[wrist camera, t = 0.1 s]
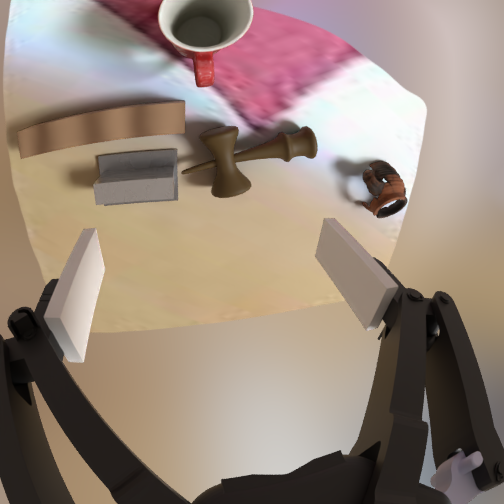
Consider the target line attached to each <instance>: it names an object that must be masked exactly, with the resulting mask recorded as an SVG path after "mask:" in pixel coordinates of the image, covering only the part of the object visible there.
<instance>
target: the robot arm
mask: <svg viewBox="0 0 504 504" xmlns="http://www.w3.org/2000/svg"><path fill="white" fill-rule="evenodd" d="M315 257H316V258H317V260H318V261H319V263H320V264H321V265H322V267H323V268H324V270H325V271H326V272H327V274H328V275H329V277H330V278H331V280H332V281H333V282H334V284H335V285H336V287H337V288H338V290H339V291H340V293H341V294H342V296H343V297H344V298H345V300H346V301H347V303H348V304H349V306H350V307H351V309H352V310H353V312H354V313H355V315H356V316H357V318H358V319H359V321H360V322H361V324H362V325H363V327H364V328H365V330H366V331H368V330H372V329H376V328H378V326H379V325H380V323H381V321H382V319H383V321H384V322H385V324H386V325H385V327H384V328H383V330H382V332H381V334H380V336H379V337H378V340H380V338H381V337H382V340H381V346H380V351H379V357H378V362H377V367H376V372H375V376H374V381H373V386H372V390H371V394H370V398H369V402H368V406H367V410H366V413H365V417H364V420H363V424H362V427H361V431H360V434H359V437H358V440H357V442H356V443H355V445H354V447H353V448H352V450H351V451H350V453H349V455H342V453H341V450H339V451H337V452H334V453H331V454H328V455H325V456H322V457H319V458H316V459H313V460H312V461H310V462H308V463H307V464H305V465H303V466H301V467H300V468H298V469H296V470H294V471H293V472H291V473H289V474H284V475H255V474H254V475H253V474H252V475H247V476H241V477H235V478H229V479H222V480H221V484H218V485H216V486H214V487H211V488H209V489H207V490H206V491H205V492H203V493H202V494H200V495H199V496H198V497H197V498H196V499H195V500H194V501H193V502H192V504H467V503H468V502H470V501H471V500H472V499H474V498H475V497H476V496H477V495H479V494H481V493H483V492H485V491H487V490H489V489H491V488H494V487H495V486H498V485H500V484H501V483H502V482H504V448H503V446H502V444H501V441H500V439H499V437H498V434H497V432H496V430H495V428H494V424H493V419H492V415H491V410H490V405H489V402H488V397H487V394H486V390H485V386H484V382H483V379H482V375H481V372H480V369H479V366H478V363H477V360H476V357H475V354H474V351H473V348H472V345H471V342H470V340H469V337H468V334H467V332H466V329H465V327H464V324H463V322H462V319H461V317H460V314H459V312H458V310H457V307H456V305H455V303H454V301H453V299H452V298H451V297H450V296H449V295H448V294H446V293H445V292H442V291H437V292H436V293H435V294H434V296H433V298H432V299H431V298H430V299H429V298H424V297H423V295H422V294H421V293H419V292H418V291H417V290H415V289H411V288H405V287H404V286H403V285H402V284H401V283H400V282H399V280H398V279H397V278H396V277H395V276H394V275H393V274H391V272H390V270H388V269H387V267H386V266H385V265H384V264H383V263H382V262H381V261H379V260H378V259H376V258H375V257H372V256H371V255H370V254H369V253H368V252H367V251H366V250H365V249H364V248H363V247H362V246H361V245H360V244H359V243H358V242H357V240H356V239H355V238H354V237H353V236H352V235H351V234H350V233H349V232H348V231H347V230H346V229H345V228H344V227H343V226H342V225H341V224H340V223H339V222H338V221H337V220H336V219H335V218H324V220H323V225H322V229H321V233H320V238H319V242H318V246H317V250H316V254H315ZM104 272H105V267H104V263H103V258H102V254H101V250H100V245H99V240H98V236H97V231H96V228H91V229H83V231H82V233H81V235H80V237H79V239H78V241H77V243H76V245H75V247H74V249H73V251H72V253H71V255H70V257H69V259H68V261H67V263H66V265H65V267H64V269H63V272H62V274H61V276H60V278H59V279H52V280H51V281H50V282H49V283H48V284H47V285H46V286H45V288H44V291H43V293H42V295H41V297H40V300H39V302H38V304H37V307H36V309H35V312H33V310H31V308H29V307H21V308H19V309H17V310H15V311H14V312H13V313H12V314H11V315H10V317H9V319H8V327H9V329H10V331H11V332H12V334H13V335H14V337H13V338H10V339H6V340H4V339H3V337H2V336H1V335H0V478H1V481H2V484H3V487H4V490H5V493H6V495H7V498H8V500H9V503H10V504H75V503H74V501H73V499H72V497H71V495H70V493H69V491H68V489H67V487H66V485H65V483H64V480H63V478H62V476H61V474H60V472H59V469H58V467H57V465H56V462H55V460H54V457H53V455H52V452H51V449H50V446H49V444H48V441H47V438H46V435H45V432H44V429H43V426H42V422H41V419H40V416H39V412H38V409H37V405H36V401H35V397H34V393H33V388H32V384H31V382H34V381H35V383H36V385H37V386H38V388H39V390H40V392H41V394H42V396H43V398H44V400H45V401H46V403H47V405H48V406H49V408H50V410H51V412H52V413H53V415H54V417H55V418H56V420H57V422H58V423H59V425H60V426H61V428H62V429H63V431H64V433H65V434H66V436H67V437H68V438H69V440H70V441H71V442H72V444H73V446H74V447H75V448H76V450H77V451H78V452H79V454H80V455H81V456H82V458H83V459H84V460H85V462H86V463H87V464H88V465H89V467H90V468H91V469H92V470H93V472H94V473H95V474H96V475H97V476H98V478H99V479H100V480H101V481H102V482H103V483H104V485H105V486H106V487H107V488H108V489H109V491H110V492H111V495H112V497H113V498H114V500H115V501H116V502H117V503H118V504H191V503H190V502H189V501H187V500H186V499H185V498H184V497H182V496H181V495H180V494H178V493H177V492H176V491H175V490H174V489H172V488H171V487H170V486H169V485H168V484H166V483H165V482H164V481H163V480H162V479H161V478H159V477H158V476H157V475H156V474H155V473H154V472H153V471H152V470H150V468H148V467H147V466H146V465H145V464H144V463H143V462H142V461H141V460H140V459H139V458H138V457H137V456H136V455H135V454H134V453H133V452H132V451H131V450H130V449H129V448H128V447H127V445H126V444H125V443H124V442H123V441H122V440H121V439H120V438H119V437H118V436H117V434H116V433H115V432H114V431H113V430H112V429H111V427H110V426H109V425H108V424H107V423H106V422H105V421H104V419H103V418H102V417H101V415H100V414H99V413H98V412H97V410H96V409H95V408H94V407H93V405H92V404H91V403H90V401H89V400H88V399H87V397H86V396H85V395H84V393H83V392H82V391H81V389H80V388H79V386H78V385H77V383H76V382H75V381H74V379H73V377H72V376H71V374H70V373H69V371H68V370H67V368H66V367H65V365H64V364H63V362H62V361H63V356H64V355H65V356H66V358H67V360H68V361H69V362H84V357H85V352H86V347H87V342H88V337H89V332H90V327H91V322H92V318H93V314H94V309H95V305H96V301H97V297H98V293H99V290H100V286H101V282H102V279H103V275H104ZM438 330H440V333H439V336H438V334H437V331H438ZM425 388H426V395H427V401H428V409H429V417H430V426H431V437H432V449H433V457H434V462H435V466H436V470H437V471H436V474H434V475H433V476H432V478H431V485H432V486H433V487H435V489H433V488H431V487H428V486H426V485H423V484H421V483H419V480H420V475H421V471H422V466H423V461H424V456H425V449H426V443H427V436H428V424H427V422H423V421H422V411H423V403H424V391H425Z"/></svg>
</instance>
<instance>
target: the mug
mask: <svg viewBox="0 0 504 504" xmlns="http://www.w3.org/2000/svg"><path fill="white" fill-rule="evenodd" d="M252 19H253V5H252V2H251V0H163V1H162V2H161V5H160V7H159V11H158V24H159V27H160V30H161V32H162V34H163V35H164V36H165V38H166V39H167V40H168V41H170V42H171V43H172V44H173V46H174V47H175V49H176V50H177V51H178V52H179V53H180V54H181V55H183V56H185V57H187V58H191V59H193V64H194V73H195V81H196V86H197V87H208V86H211V85H213V83H214V62H213V54H215V53H216V52H218V51H219V50H221V49H223V48H225V47H228V46H230V45H232V44H233V43H235V42H236V41H238V40H239V39H240V38H241V37H242V36H243V35H244V34H245V33H246V32H247V30H248V29H249V27H250V25H251V23H252Z"/></svg>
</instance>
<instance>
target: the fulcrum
mask: <svg viewBox="0 0 504 504" xmlns="http://www.w3.org/2000/svg"><path fill="white" fill-rule="evenodd" d="M98 159H99V170H100V176H99V177H98V179H97V180H96V181H95V183H94V184H93V187H94V194H95V201H96V205H101V204H104V206H108V205H119V204H130V203H143V202H158V201H174V200H178V180H177V149H167V150H151V151H138V152H127V153H117V154H108V155H100V156H98Z"/></svg>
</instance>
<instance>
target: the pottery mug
mask: <svg viewBox="0 0 504 504" xmlns="http://www.w3.org/2000/svg"><path fill="white" fill-rule="evenodd" d="M370 167H371V168H372V170H366V171H365V172H364V173H363V180H364V182H365V183H366V185H367V188H368V190H369V192H370V193H372V194H373V195H374V196H378V195H379V197H378V198H375V197H374V198H373V200H372V202H371V204H370V206H368V204H367V203H366V202H362V204H363V206H365V208H366V209H368V210H369V211H370V212H373V215H374V216H375V215H376V216H377V218H385V217H388V216H390V215H393V214H395V213H397V212H398V211H400V210H401V209H402V208H403V207H404V206H405V205H406V204H407V198H406V197H405V194H406V189H405V187H404V183H403V180H402V179H401V178H400V176H399V174H398V173H397V172H396V170H395V169H394V168H393V167H392V166H390V164H389V163H387V162H383V161H378V162H375V163H372V164H370ZM383 178H384V179H385V180H386V181H387V182H385V183H384V181H382V180H383ZM400 199H401V200H400ZM394 200H397V201H396V202H395V203H393V204H391V205H390V206H389V207H384V208H382V207H383V206H384V205H386V204H387V203H389V202H392V201H394Z"/></svg>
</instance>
